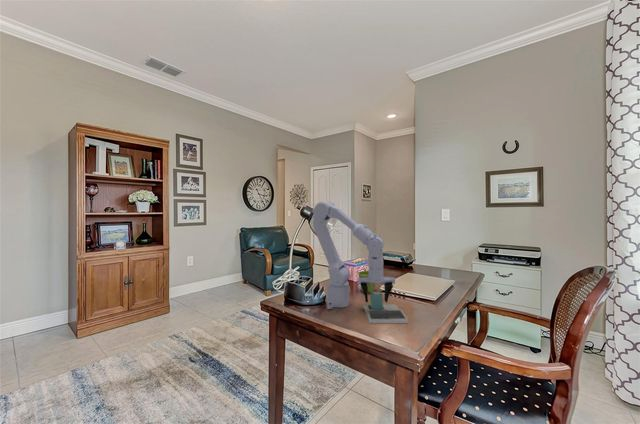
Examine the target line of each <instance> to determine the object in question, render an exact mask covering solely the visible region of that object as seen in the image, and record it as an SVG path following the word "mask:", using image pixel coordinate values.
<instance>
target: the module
mask: <svg viewBox="0 0 640 424" xmlns="http://www.w3.org/2000/svg"><path fill="white" fill-rule="evenodd" d="M369 294H370V305H371V309H372V310H383V301H384V300H383V299H384V297H383V293H382V292H381V291H374V292H370V293H369Z"/></svg>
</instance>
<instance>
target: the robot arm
mask: <svg viewBox="0 0 640 424" xmlns="http://www.w3.org/2000/svg"><path fill="white" fill-rule="evenodd" d="M312 213H313V218H312V219H313V220H312V227H313V229H314V231H315V234H316V236H317V239H318V241H319V244H320V246H321V247H320V248H322V251H323V255H324V256H325V258H326V262H327V263H328V267H327V268H328V270H327V271H328V273H329V274H328V276H329V281H330V284H326V299H325V300H326V309H327V310H332V309H333V308H346V307H349V305H350V290H349V289H350V284H349V280H348V279H349V278H350V277H351V272H350V269H349V268H348V267H347V266H346V265H345V263H344V261H343V260H341V258H340V256H339V253H338V250H337V249H336V245H335V243H334V240H333V238H332V236H331V234H330V231H329V228H328V227H327V225H328V222H329V220H330V219H337V220H338V221H340V222H341V224H344V226H346V227H347V228H348V229H350V230H351V231H352V236H354V237H355V238H356V239H357V240H359V241H360V242H361V243H362V244H363V245H365V246H366V249H367V251H368V256H367V257H368V271H369V277H364V278H359V277H357V279H356V281H357V284H358V285H360V288H361V287H362V289H363V291H362V292H363V294H364V295H363V296H364V301H365V303H369V300H368V299H369V297H368V296H369V295H368V293H369V292H368V287H367V283H375V284H384V285H383V286H384V297H383V299H384V302H385V303H388V301H389V296H390V294H391V292H392V290H393V288H394V285H395V284H396V278H395V277H388V276H384V255H383V254H384V251H383V248H384V245H385V243H384V240H383V238H382V237H381V236H380V235H377V233H374V232H372V231H371V229H369V228H368V225H367V224H363V223H357V222H356V221H354V220H353V219H352V218H351V217H350V216H349V215H348V214H347V213H346V212H345V211H344V210H342V209H341V208H340V207H339V206H338V205H336V204H335V203H333V202H332V201H319V202H317V203H316V205H315V206H314V207H313V210H312Z"/></svg>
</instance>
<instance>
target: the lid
mask: <svg viewBox="0 0 640 424" xmlns="http://www.w3.org/2000/svg"><path fill="white" fill-rule="evenodd" d="M363 308H364V311H365V313H366V310H372V309H371V304H363ZM383 310H400V308H399V307H398V305H397V304H390V303H389V304H383Z"/></svg>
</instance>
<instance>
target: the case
mask: <svg viewBox="0 0 640 424" xmlns="http://www.w3.org/2000/svg"><path fill="white" fill-rule="evenodd" d="M365 314H366V318H367V319H368V324H409V318H408V317H407V315H406V314H405V313H404V311H403V309H399V310H366V312H365Z"/></svg>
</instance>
